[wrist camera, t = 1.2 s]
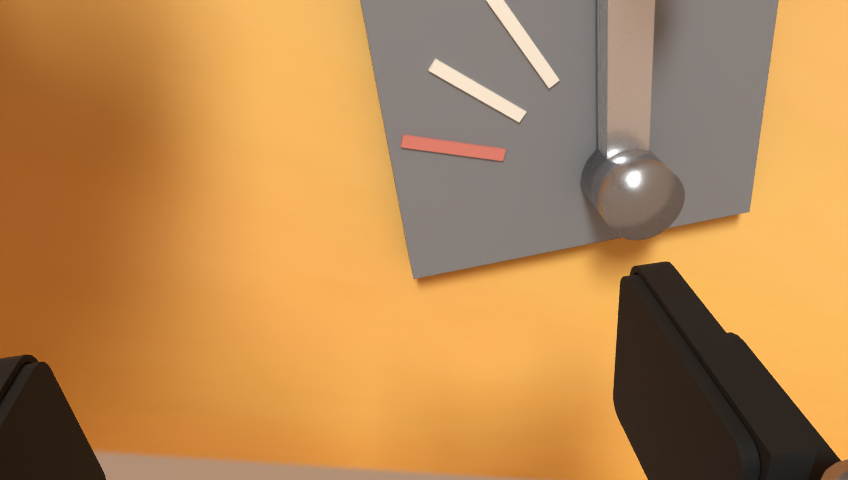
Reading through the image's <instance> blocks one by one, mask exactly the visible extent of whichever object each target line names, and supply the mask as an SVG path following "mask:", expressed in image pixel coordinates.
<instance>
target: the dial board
mask: <svg viewBox="0 0 848 480" xmlns="http://www.w3.org/2000/svg"><path fill="white" fill-rule="evenodd" d="M360 1H361V7H362V12H363V17H364V22H365V28H366V33H367V38H368V43H369V49H370V54H371V59H372V65H373V70H374V75H375V80H376V86H377V91H378V96H379V101H380V107H381V112H382V117H383V123H384V128H385V133H386V138H387V144H388V149H389V154H390V159H391V165H392V170H393V175H394V181H395V186H396V191H397V196H398V202H399V207H400V212H401V217H402V223H403V228H404V233H405V239H406V244H407V249H408V254H409V260H410V265H411V270H412V274H413V279H416V278H421V277H426V276H431V275H436V274H441V273H446V272H451V271H456V270H461V269H466V268H471V267H476V266H481V265H486V264H491V263H496V262H501V261H506V260H511V259H516V258H521V257H526V256H531V255H536V254H541V253H546V252H551V251H556V250H561V249H566V248H571V247H576V246H581V245H586V244H591V243H596V242H601V241H606V240H611V239H616V238H621V237H620V236H618V235H617V234H616V233H614V232H613V231H612V229H611V228H610V227H609V225H608V224H607V223H606V221H605V220H604V219H603V217H602V216H601V214H600V213H599V212H598V210H597V209H596V208H595V206H594V205H593V204H592V202H591V201H590V199H589V198H588V197H587V195H586V194H585V192H584V190H583V187H582V181H581V178H582V171H583V168H584V166H585V164H586V162H587V160H588V159H589V157H590V156H591V155H592V154H593V153H594V152H595V151H596V150H597V149H598V100H597V0H360ZM777 7H778V0H655V16H654V41H653V65H652V89H651V114H650V138H649V149H650V150H651V151H652V152H653V153H654V154H655V155H656V156H657V157H658V158H659V159H660V160H661V161H662V162H663V163H664V164H665V165H666V166H667V167H668V168H669V169H670V170H671V171H672V172H673V173H674V174H675V175H676V176H677V177H678V178H679V179H680V180H681V182H682V184H683V187H684V191H685V200H684V205H683V208H682V210H681V212H680V214H679V216H678V217H677V219H676V220H675V221H674V222H673V223H672V224H671V225H670V226H669V227H668V228H671V227H676V226H681V225H686V224H691V223H696V222H701V221H706V220H711V219H716V218H721V217H726V216H731V215H736V214H741V213H746V212H749V211H750V204H751V197H752V189H753V182H754V175H755V168H756V160H757V153H758V146H759V138H760V131H761V124H762V117H763V109H764V102H765V95H766V87H767V80H768V73H769V66H770V58H771V51H772V44H773V36H774V29H775V22H776V15H777Z"/></svg>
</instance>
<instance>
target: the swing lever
mask: <svg viewBox="0 0 848 480" xmlns="http://www.w3.org/2000/svg"><path fill="white" fill-rule="evenodd" d="M654 16H655V0H597V100H598V149H597V150H596V151H595V152H594V153H593V154H592V155H591V156H590V157H589V159H588V160H587V162H586V164H585V166H584V168H583V171H582V178H581V181H582V187H583V190H584V192H585V194H586V195H587V197H588V198H589V199H590V201H591V202H592V204H593V205H594V206H595V208H596V209H597V210H598V212H599V213H600V214H601V216H602V217H603V219H604V220H605V221H606V223H607V224H608V225H609V227H610V228H611V229H612V231H613V232H614V233H616V234H617V235H618V236H620V237H622V238H625V239H629V240H642V239H647V238H650V237H653V236H655V235H657V234H659V233H661V232H663V231H664V230H666V229H667V228H668V227H669V226H670V225H671V224H672V223H673V222H674V221H675V220H676V219H677V217H678V216H679V214H680V212H681V210H682V208H683V205H684V200H685V191H684V187H683V184H682V182H681V180H680V179H679V178H678V177H677V176H676V175H675V174H674V173H673V172H672V171H671V170H670V169H669V168H668V167H667V166H666V165H665V164H664V163H663V162H662V161H661V160H660V159H659V158H658V157H657V156H656V155H655V154H654V153H653V152H652V151H651V150H650V149H649V138H650V114H651V89H652V65H653V41H654Z"/></svg>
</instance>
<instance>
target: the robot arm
mask: <svg viewBox="0 0 848 480" xmlns="http://www.w3.org/2000/svg"><path fill="white" fill-rule="evenodd" d="M613 400H614V406H615V410H616V414H617V416H618V419H619V421H620V423H621V425H622V427H623V429H624V431H625V433H626V435H627V437H628V439H629V441H630V443H631V445H632V447H633V449H634V452H635V454H636V456H637V458H638V460H639V462H640V464H641V466H642V468H643V470H644V472H645V474H646V476H647V478H648V480H848V460H844V461H841V460H840V459H839V458H838V457H837V455H836V454H835V453H834V452H833V450H832V449H831V448H830V447H829V445H828V444H827V443H826V442H825V441H824V439H823V438H822V437H821V436H820V434H819V433H818V432H817V431H816V429H815V428H814V427H813V426H812V424H811V423H810V422H809V421H808V420H807V418H806V417H805V416H804V415H803V413H802V412H801V411H800V410H799V408H798V407H797V406H796V405H795V404H794V402H793V401H792V400H791V399H790V397H789V396H788V395H787V394H786V392H785V391H784V390H783V389H782V388H781V386H780V385H779V384H778V383H777V381H776V380H775V379H774V378H773V376H772V375H771V374H770V373H769V372H768V370H767V369H766V368H765V367H764V365H763V364H762V363H761V362H760V360H759V359H758V358H757V357H756V356H755V354H754V353H753V352H752V351H751V349H750V348H749V347H748V346H747V344H746V343H745V342H744V341H743V340H742V339H741V338H740V337H739V336H738V335H736V334H734V333H731V332H730V333H726V332H725V331H724V329H723V328H722V327H721V326H720V324H719V323H718V322H717V321H716V319H715V318H714V317H713V315H712V314H711V313H710V312H709V310H708V309H707V308H706V307H705V305H704V304H703V303H702V302H701V300H700V299H699V298H698V296H697V295H696V294H695V293H694V291H693V290H692V289H691V288H690V286H689V285H688V284H687V283H686V281H685V280H684V279H683V277H682V276H681V275H680V274H679V272H678V271H677V270H676V269H675V267H674V266H673V265H672V264H671V263H670V262H659V263H652V264H646V265H639V266H634V267H633V268H632V269H631V272H630V276H624V277H622V279H621V282H620V294H619V310H618V326H617V342H616V358H615V373H614V389H613ZM0 480H106V478H105V474H104V472H103V470H102V468H101V466H100V464H99V462H98V460H97V458H96V456H95V454H94V452H93V450H92V448H91V446H90V445H89V443H88V441H87V439H86V437H85V435H84V433H83V431H82V429H81V427H80V425H79V423H78V421H77V419H76V417H75V415H74V413H73V411H72V409H71V407H70V406H69V404H68V402H67V400H66V398H65V396H64V394H63V392H62V390H61V388H60V386H59V384H58V382H57V380H56V378H55V376H54V374H53V372H52V370H51V368H50V367H49V366H48V364H46V363H45V362H38V361H37V359H36V358H35V357H33V356H32V355H21V356H14V357H7V358H1V359H0Z"/></svg>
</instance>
